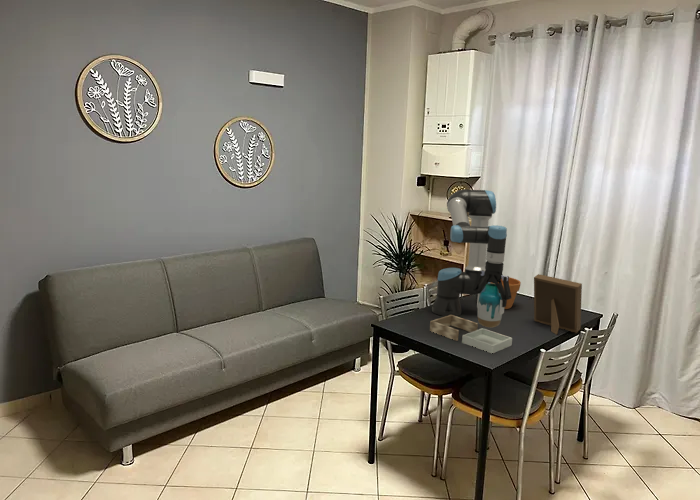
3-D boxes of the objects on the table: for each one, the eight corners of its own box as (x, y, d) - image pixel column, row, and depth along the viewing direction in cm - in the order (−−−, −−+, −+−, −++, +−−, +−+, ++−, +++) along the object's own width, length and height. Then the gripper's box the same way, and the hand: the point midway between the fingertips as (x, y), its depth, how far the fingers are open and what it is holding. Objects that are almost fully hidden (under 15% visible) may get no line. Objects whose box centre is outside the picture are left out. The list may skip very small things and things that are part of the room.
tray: (461, 342, 235) (462, 335, 235) (481, 335, 246) (482, 328, 245) (492, 353, 224) (493, 346, 223) (511, 345, 235) (512, 337, 234)
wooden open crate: (429, 331, 248) (430, 321, 247) (450, 324, 259) (451, 314, 258) (456, 341, 237) (457, 330, 236) (477, 333, 248) (478, 323, 247)
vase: (496, 332, 226) (501, 289, 222) (472, 327, 231) (476, 285, 228) (503, 325, 235) (508, 284, 231) (480, 320, 240) (484, 280, 236)
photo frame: (538, 319, 272) (543, 272, 267) (580, 330, 257) (586, 281, 252) (524, 325, 262) (529, 277, 256) (567, 338, 247) (573, 287, 241)
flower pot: (492, 297, 308) (494, 273, 305) (525, 306, 293) (528, 281, 290) (471, 304, 294) (473, 278, 291) (504, 313, 279) (507, 287, 276)
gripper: (467, 257, 233) (463, 305, 237) (514, 267, 217) (508, 319, 221) (477, 255, 238) (472, 302, 242) (523, 265, 222) (518, 315, 226)
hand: (490, 310), depth 232 cm, fingers closed on vase, 11 cm apart
